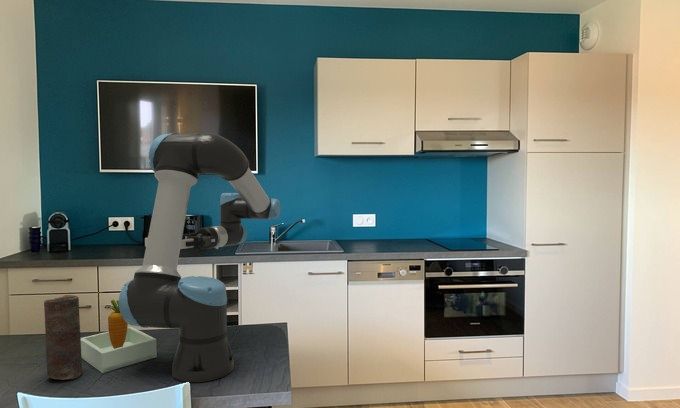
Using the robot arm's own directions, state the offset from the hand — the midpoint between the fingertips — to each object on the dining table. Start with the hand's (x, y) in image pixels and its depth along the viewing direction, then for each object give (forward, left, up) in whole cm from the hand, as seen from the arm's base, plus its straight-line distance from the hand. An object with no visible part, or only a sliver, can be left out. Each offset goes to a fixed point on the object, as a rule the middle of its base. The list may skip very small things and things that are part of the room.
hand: (160, 243), depth 136 cm
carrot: (-6, +15, -28) cm, 33 cm away
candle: (-9, +30, -29) cm, 43 cm away
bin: (-6, +15, -29) cm, 34 cm away
